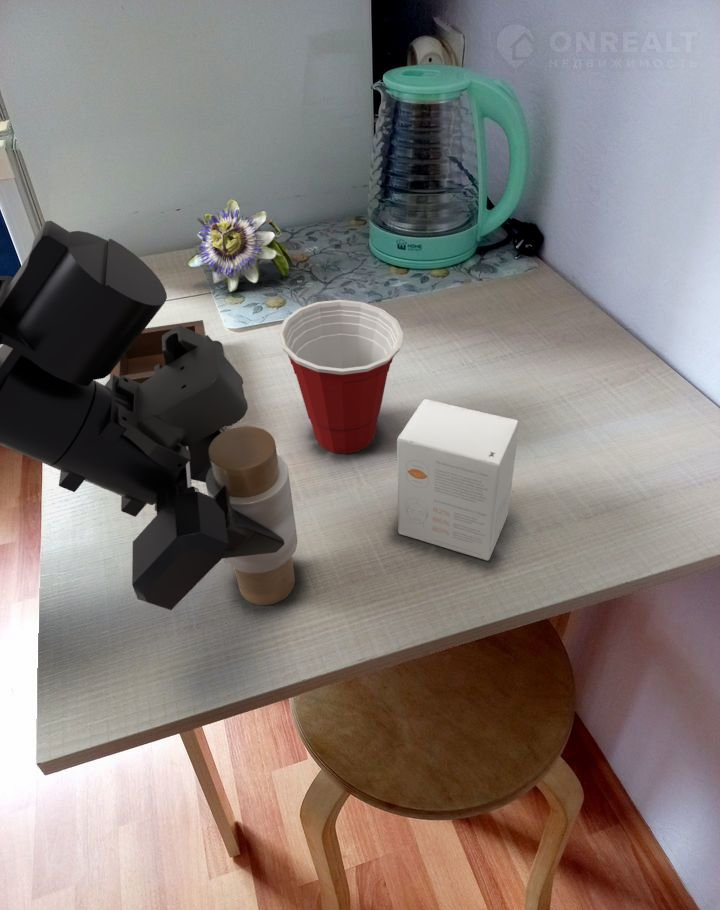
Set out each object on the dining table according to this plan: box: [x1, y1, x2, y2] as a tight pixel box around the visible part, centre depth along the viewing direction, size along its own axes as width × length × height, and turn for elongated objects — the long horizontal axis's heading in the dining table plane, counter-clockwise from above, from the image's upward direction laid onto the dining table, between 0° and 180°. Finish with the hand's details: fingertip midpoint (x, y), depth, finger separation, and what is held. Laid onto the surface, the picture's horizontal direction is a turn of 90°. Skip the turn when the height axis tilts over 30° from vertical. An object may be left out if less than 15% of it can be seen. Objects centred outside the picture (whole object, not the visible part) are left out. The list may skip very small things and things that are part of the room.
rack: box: [109, 319, 207, 384], centre depth 73 cm, size 19×10×4 cm, turn 13°
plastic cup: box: [278, 299, 404, 455], centre depth 65 cm, size 11×11×12 cm
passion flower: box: [186, 198, 294, 293], centre depth 93 cm, size 11×11×12 cm
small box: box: [396, 398, 520, 561], centre depth 56 cm, size 8×6×10 cm
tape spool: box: [205, 425, 298, 606], centre depth 51 cm, size 6×6×14 cm
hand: (274, 516), depth 51 cm, fingers closed on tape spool, 6 cm apart
